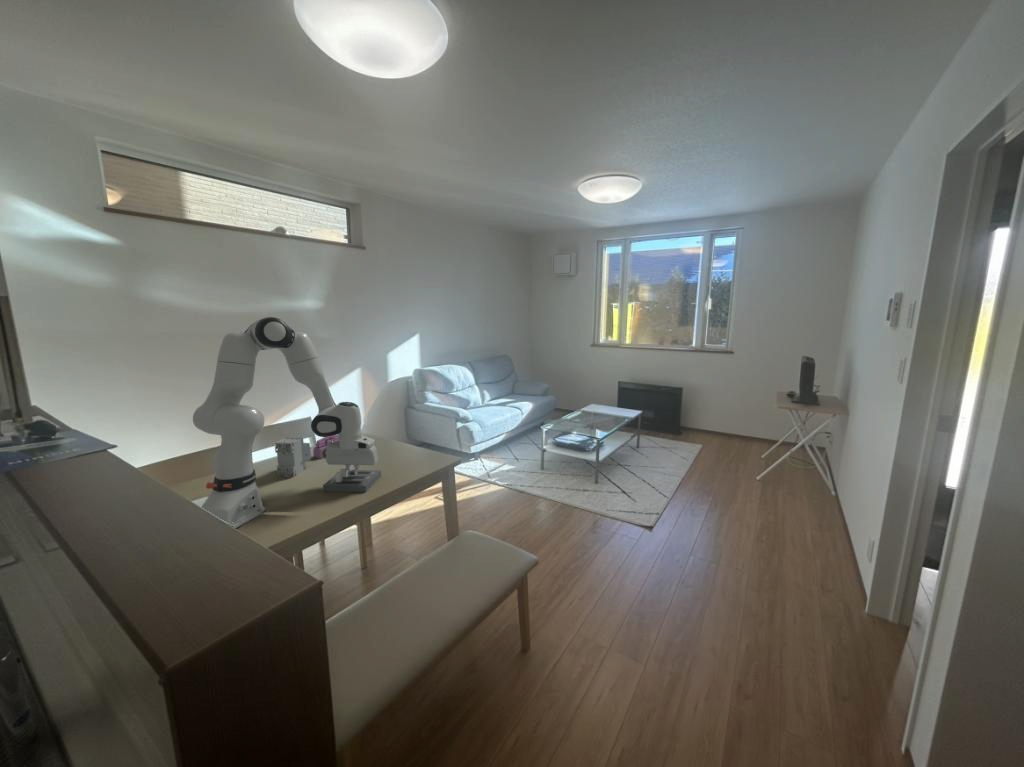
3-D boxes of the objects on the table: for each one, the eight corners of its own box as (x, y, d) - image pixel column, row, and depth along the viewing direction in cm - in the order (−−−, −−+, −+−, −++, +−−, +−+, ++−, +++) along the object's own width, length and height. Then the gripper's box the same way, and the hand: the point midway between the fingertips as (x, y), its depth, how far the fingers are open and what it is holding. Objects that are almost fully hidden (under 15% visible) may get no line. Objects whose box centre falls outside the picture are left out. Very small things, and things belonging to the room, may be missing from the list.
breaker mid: (345, 477, 167) (345, 469, 166) (341, 477, 167) (340, 469, 166) (347, 475, 169) (347, 467, 168) (343, 475, 169) (343, 467, 168)
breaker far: (351, 472, 171) (350, 464, 171) (346, 472, 172) (346, 464, 171) (353, 470, 173) (352, 463, 173) (349, 470, 174) (348, 463, 173)
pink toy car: (321, 461, 194) (319, 440, 192) (312, 459, 197) (310, 438, 195) (351, 450, 209) (350, 431, 207) (343, 448, 212) (341, 429, 210)
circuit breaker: (313, 465, 188) (311, 433, 185) (294, 477, 174) (291, 443, 171) (298, 464, 189) (295, 433, 186) (277, 476, 175) (274, 442, 172)
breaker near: (340, 482, 162) (339, 473, 161) (335, 482, 162) (335, 473, 161) (342, 480, 164) (341, 472, 163) (338, 480, 164) (337, 471, 163)
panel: (366, 491, 160) (365, 485, 159) (323, 491, 160) (323, 484, 160) (381, 476, 175) (380, 470, 175) (342, 475, 176) (341, 469, 176)
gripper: (321, 443, 163) (324, 477, 165) (372, 444, 162) (374, 477, 164) (329, 439, 169) (331, 471, 171) (378, 439, 168) (380, 471, 170)
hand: (353, 474), depth 167 cm, fingers closed
